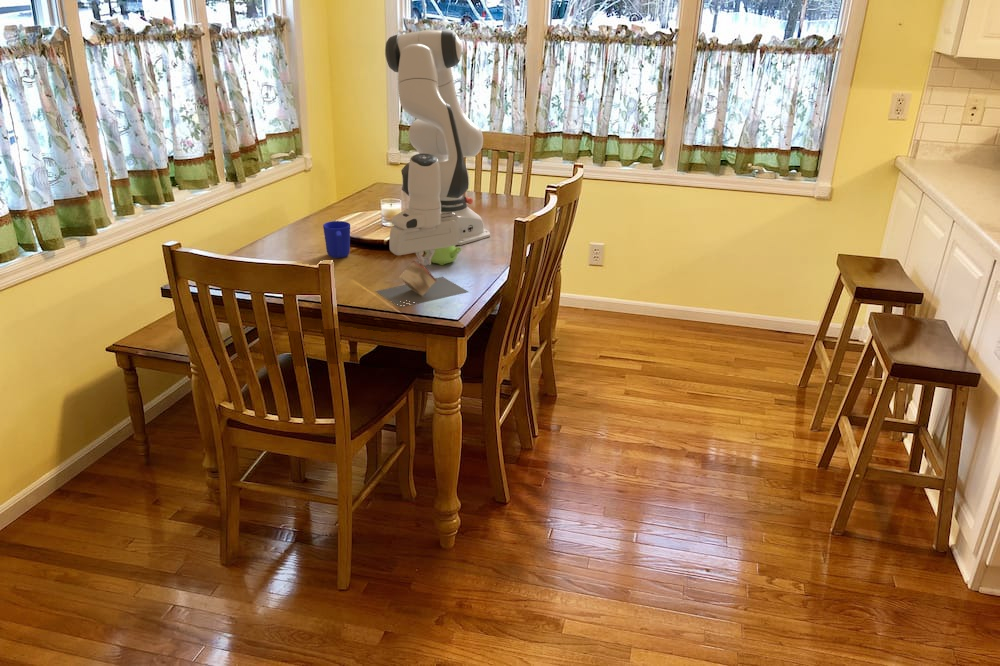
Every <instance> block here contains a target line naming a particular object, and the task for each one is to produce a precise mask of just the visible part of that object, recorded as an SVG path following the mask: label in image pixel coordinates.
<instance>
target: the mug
mask: <svg viewBox="0 0 1000 666" xmlns="http://www.w3.org/2000/svg"><path fill="white" fill-rule="evenodd" d="M322 226H323V227H322V228H323V233H324V241H325V247H326V254H327V255H328V256H329V257H330V258H333V259H342V258H346V257H348V256H349V254H350V249H351V248H350V247H351V246H350V245H351V224H350V222H347V221H343V220H332V221H328V222H325V223H324V224H323V225H322Z"/></svg>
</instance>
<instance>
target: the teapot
mask: <svg viewBox="0 0 1000 666" xmlns="http://www.w3.org/2000/svg"><path fill="white" fill-rule="evenodd" d="M456 246H457V245H454V246H449V247H443V248H438V249H435V253H434V255H433V257H432V259H431V263H433V264H438V265H439V266H444V265H445V264H450V263H452V262H454V261H455V260H456V259H457V257H458V254H459V253H460V252H461V251H462V248H461V247H460V246H457V247H456ZM424 253H425V256H426V255H427V253H428V252H427V251H424Z"/></svg>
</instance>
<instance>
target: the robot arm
mask: <svg viewBox="0 0 1000 666" xmlns="http://www.w3.org/2000/svg"><path fill="white" fill-rule="evenodd" d="M462 51H463V48H462V43H461V39H460V38H459V35H458V33H456V31H454V29H453V30H452V29H449V28H448V29H447V28H442V30H441V29H426V30H425V29H422V30H420V31H413V32H408V33H407V32H406V33H403V34H400V33H398V34H395V35H392V36H390V37H389V38H388V39H387V40H386V42H385V48H384V55H385V60H386V63H387V65H388V67H389V69H391V70H392V71H393V72H394V73H397V89H398V97H399V103H400V105H401V107H402V109H403V110H404V111H405V112H406V113H407V114H409V116H411V117H412V118H414V119H415V120H414V121H413V122H412V123H411V125H410V127H409V129H408V140H409V142H410V144H411V146H412V147H413V148H414V149H415V150H416V151H417V152H418V153H417V154H414V155H412V156H411V157H410V158H409V162H408V163H406V164H405V165H404V167H402V169H400V171H401V176H402V177H401V179H402V183H401V184H402V185H401V190H402V191H403V192H404V193H405V195H407V196H409V198H408V199H409V200H408V203H407V208H406V209H404V210H403V211H400V212H399V213H397V214H395V215H393V216H392V217H391V220H390V221H391V224H392V227H391V229H390V231H389V240H388V241H389V251H390V252H391V253H392V254H394V255H396V256H402V255H403V256H405V255H409V254H415V256H416V257H417V258H418V264H420V265H422V266H424V267H427V266H431V265H432V262H431V259H432V257H433V255H434V253H435V249H438V248H443V247H449V246H454V245H456V246H462V245H466V244H468V243H473V242H476V241H479V240H483V239H486V238H489V237H491V233H490V231H489V230H487V228H485V227H484V222H483V219H482V217H481V216H480V215H479V214H478V213H476V212H475V211H474V210H472V209H471V208H470V207H468V205H467V204H469V205H472V204H473V201H474V199H473V198H472V197H469V196H468V197H466V196H465V195H464V194H466V192H467V191H468V190H469V188H470V187H469V186H470V176H469V171H468V168H467V166H466V165H467V164H466V163H465V158H467V157H475V156H477V155H478V154H479V153H480V152H481V150H482V148H483V145H484V135H483V131H482V129H481V128H480V127H479V126H478V125H477V124H475V123H474V122H473V121H472V120H471V118H469V117H468V116H467V114H466V113H465V111H464V110H463V108H462V107H461V106H462V105H461V104H460V102H459V100H458V96H457V92H456V87H455V83H454V82H455V81H454V76H453V71H452V68H454V67H455V66H457V65H458V64H459V63H460V61H461V56H462V54H463V53H462ZM425 251H427V252H428V253H427V255H426V254H425V257H423V255H424V253H425Z"/></svg>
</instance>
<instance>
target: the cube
mask: <svg viewBox="0 0 1000 666" xmlns="http://www.w3.org/2000/svg"><path fill="white" fill-rule="evenodd" d="M398 277H399V279H401V280H402V281H403V283H405V285H407V286H408V287H409V288H410V289H411V290H413V291H414V292H416V293H418V294H419V295H421V296H423V295H424V294H425V293H426V292H427V291H428V290H429V288H430V287H431V286H432V285H433V284H434V283H435V282H436V279H435V277H434V276H433V275H432V274H431V272H430V271H429V270H428V269H427V268H426V266H422V265H420V264H419V262H416V261H414V260H412V262H411V263H410V264H409V265H408V266H407V267H406V268H405V269H404V271H403V272H402V273H401V274H400V275H399V276H398Z"/></svg>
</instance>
